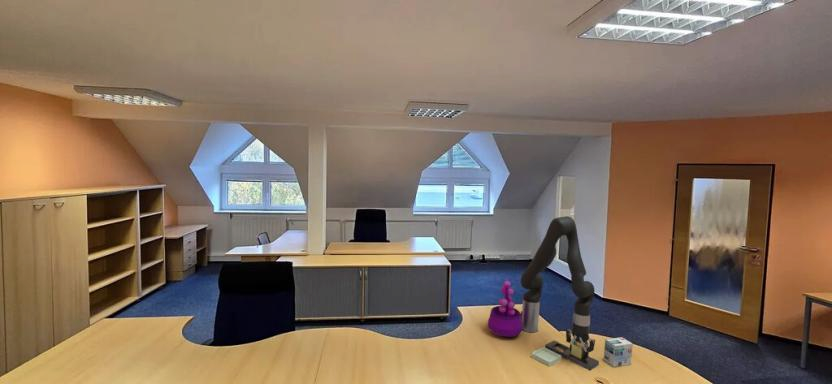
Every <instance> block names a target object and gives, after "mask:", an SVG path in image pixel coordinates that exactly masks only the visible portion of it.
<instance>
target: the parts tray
mask: <svg viewBox="0 0 832 384" xmlns="http://www.w3.org/2000/svg"><path fill="white" fill-rule="evenodd" d="M530 357H531V358H533V360H534V359H535V360H537V361H538V362H540V363H542V364H544V365H546V366H548V367H550V366H552V365H554V364H557V363H558V362H560V361H561V360H562V357H561V355H559V354H557V353H555V352H553V351H551V350H548V349H546V348H545V346H544V347H543V346H542V347H541V348H539V349H536V350H535V351H533V352H531V356H530Z"/></svg>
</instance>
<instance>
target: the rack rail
mask: <svg viewBox="0 0 832 384" xmlns="http://www.w3.org/2000/svg"><path fill="white" fill-rule="evenodd" d="M544 348H546V349H548V350H551V351H553V352H555V353H557V354H559V355H561V358H564V359H566V360H568V361H570V362H572V363H573V364H576V365H578V366H581V367H583V368H584V369H586V370H588V371H592V370H594V369H595V368H596V367H599V364H600V360H598V359H596V358H593V357H591V356H588V358H586V359H584V360H583V361H580V360H578V359H576V358H574V357H572V356H571V352H570V346H567V345H565V344H562V343H561V342H558V341H556V340H552V341H550V342H548V343H546V344H544ZM557 348H559V349H561V350H563V351H561V350H559V349H557Z"/></svg>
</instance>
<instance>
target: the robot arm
mask: <svg viewBox="0 0 832 384" xmlns="http://www.w3.org/2000/svg"><path fill="white" fill-rule="evenodd" d="M562 236H565V237H566V240H567V254H566V263H567V267H568V269H569V271H570V272H569V273H570V277H571V278H570V280H571V289H572V292H573V295H575V296H576V298H577V300H576V301H575V302H574V308H573V316H572V326H571V327H572V330H571V329H570V328H568V329H566V330H565V341H566V343H569V348H570V352H571V351H572V344H573V343H575V342H579V343H581V344H582V346H583V347H584V350H585V351H584V359H586V358H588V356H589V353H591V352H593V351H594V347H595V344H596V339H593V338H590V336H589V335H590V327H591V326H590V325H591V306H592V303H593V300H594V297H595V292H596V291H595V286H594V284H593V283H592V282H591V281H589V280H585V278H584V277H585V276H586V275H587V269H586V267H585V265H584V262H583V261H584V260H583V257H582V254H581V249H580V243H579V236H578V230H577V224H576V222H575V220H574V219H573V217H571V216H560V217H555V218H553V219H552V220H551V221H550V223H549V226H548V228H547V231H546V234H545V236H544V237H543V240H542V242H541V244H540V245H539V247H538V248H537V251H536V252H535V254H534V256H533V258H532V260H531V262H530V263H529V264H528V266H527V267H526V269H525V270H524V272H523V273H522V275H521V277H520V286H521V287H522V288H523V289H524V290H527V291H526V292H525V293H523V295H522V309H521V311H520V314H521V321H522V331H524V332H527V333H537V332H538V331H539V320H540V319H539V318H540V304H541V303H540V301H541V298H542V293H543V282H544V281H543V276H542V274H541V272H543V271H544V270H545V269H547V268H548V267H549V266H550V265H551V264H553V263H552V262H553V261H554V260H555V258H556V256H557V245H556V244H557V243H558V242H559V240H560V238H561V237H562ZM589 357H590V356H589Z"/></svg>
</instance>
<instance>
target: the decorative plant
mask: <svg viewBox="0 0 832 384" xmlns="http://www.w3.org/2000/svg"><path fill="white" fill-rule="evenodd" d="M511 287H512V284H511V281H509V280H505V281H504V282H503V286H501V289H500V290H501V294H503V295H504V298H500V299H498V305H497V306H494V307H492V308H491V309H490V312H489V313H490V315H489V317H488V320H487V326H488V329H489V330H490V331H491V332H492V333H494V334H496V335H498V336H501V337H507V338H509V337H510V338H511V337H516V336H518V335H519V334H521V332H522V331H523V329H522V321H521V311H520V310H518V309H517V308H515V306H516V305H515V304H516V303H514V302H515V301H512V297H511V296H512V295H513V294H514V293H515V291H514V289H512V288H511Z"/></svg>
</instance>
